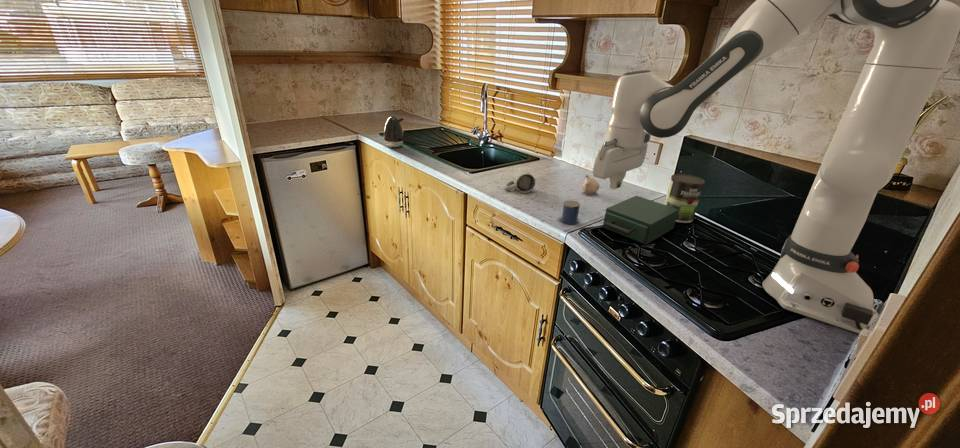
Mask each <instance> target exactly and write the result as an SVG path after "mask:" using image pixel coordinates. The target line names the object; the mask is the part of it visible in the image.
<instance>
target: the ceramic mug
mask: <svg viewBox="0 0 960 448" xmlns="http://www.w3.org/2000/svg"><path fill="white" fill-rule="evenodd" d="M535 186H536V178H535V176H534V175H533V174H532V173H530V172H529V171H527V170H525V169H519V170H516V171H515V172H514V174H513V176H512V180H511V181H508V182H507V183H506V184H505V189H506V191H514V190H517V191H518V192H520V193H522V194H527V193H530V192H531V191H533V190H534V188H535Z"/></svg>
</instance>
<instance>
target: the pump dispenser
mask: <svg viewBox="0 0 960 448" xmlns="http://www.w3.org/2000/svg"><path fill="white" fill-rule="evenodd" d="M404 120H405V119H404V117H402V118H398V117H397V116H394V115H393V116H389V117H388V118H387V120H386V122H385V125H384V130H383V141H384V143H385V145H386V146H387V147H389V148H394V149H395V148H399V147H401V146H402V145H403V143H404V141H405V136H404V130H403V126H402V124H401V122H403V121H404Z"/></svg>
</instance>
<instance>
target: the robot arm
mask: <svg viewBox="0 0 960 448" xmlns="http://www.w3.org/2000/svg"><path fill="white" fill-rule="evenodd" d="M827 16H828V17H830V18H833V19H834V20H837V21H838V22H840V23H843V24H847V25H851V26H868V25H871V27H872V29H873V31H874V40H873V42H872V43H873V44H872V45H873V46H872V48H871V50H870V52H869V54H868V56H867V57H866V60H865V63H864V65H863V67H862V69H861V71H860V74H859V76H858V78H857V81H856V83H855V86H854V88H853V90H852V93H851V95H850V97H849V99H848V101H847V104H846V105H845V109H844V111H843V113H842V116H841V119H840V120H839V123H838V124H837V127H836V130H835V132H834V134H833V136H832V139H831V141H830V143H829V145H828V148H827V150H826V152H825V154H824V157H823V159H822V162H821V164H820V166H819V169H818V171H817V173H816V176H815V178H814V181H813V183H812V185H811V188H810V189H809V192H808V195H807V197H806V200H805V202H804V204H803V206H802V208H801V211H800V214H799V216H798V219H797V220H796V223H795V225H794V228H793V230H792V232H791V234H789V236H787V238H786V239H785V242H784V244H783V246H782V248H781V251H780V257H779V259H778V261H777V263H776V264H775V266H774V268H773V269H772V270H771V272H770V273H769V275H767V276H766V278H765V279H764V280H763V281H762V288H763V289H764V291H765V292H766V293H767V294H768V295H769V296H770V297H772V298H773V299H774V300H775V301H776V302H777V303H778V304H779V306H780V307H782V309H784V310H786V311H790V312H792V313H796V314H799V315H802V316H805V317H808V318H811V319H814V320H817V321H820V322H823V323H826V324H829V325H832V326H835V327H838V328H841V329H844V330H847V331H850V332H853V333H856V334H859V335H861V334H860V332H861V331H862V330H863V329H864V328H870V326H871V325H872V323H873V322H874V321H875V319H876V318H877V317H878V315H879V316H880V314H879V312H878V311H877V310H876V309H875V308H874V301H875V297H874V292H873V290H872V288H871V287H870V286H869V285H868V284H867V283H866V282H865V281H864V280H863V278H862V277H860V275H859V274H858V273H857V272H858V271H859V268H860V264H859V263H860V259H859V254H856V255H855V254H854V253H853V252H852V250H853V247H854V245H855V243H856V241H857V239H858V238H859V235H860V234H861V231H862V229H863V228H864V225H865V223H866V221H867V218H868V216H869V213H870V211H871V208H872V206H873V204H874V201H875V198H876V196H877V195H878V192H879V191H880V190H881V189H883V188H884V187H885V186H886V185H888V183H890V181H891V180H892V178H893V176H894V174H895V172H896V170H897V168H898V166H899V163H900V162H901V159H902V157H903V155H904V153H905V150H906V148H907V146H908V144H909V142H910V140H911V137H912V135H913V133H914V130H915V128H916V125H917V123H918V121H919V118H920V116H921V115H922V112H923V110H924V108H925V106H926V104H927V102H928V100H929V98H930V97H931V94H932V93H933V90H934V89H935V87H936V85H937V83H938V81H939V79H940V77H941V75H942V73H943V70H944V69H945V68H946V65H947V63H948V61H949V59H950V56H951V54H952V52H953V50H954V47H955V44H956V41H957V38H958V35H959V32H960V6H959V5H958V4H956V3H954V2H952V1H949V0H755V1H754V2H753V3H752V4H751V5H750V6H749V7H748V8H747V9H746V10H745V11H744V12H743V13H742V14H741V15H740V16H739V17H738V18H737V20H735V22H734V23H733V25H732V26H731V28H729V30H728V32H727V34H726V36H725V37H724V39H723V40H722V42H721V43H720V44H719V46H718V47H717V48H716V49H715V50H714V51H713V53H712V54H710V56H709V57H708V58H706V59H705V60H704V61H703V62H702V63H700V65H699V66H698V67H696V68H695V69H694V70H692V71H691V72H690V73H689V74H688V75H687V76H686V77H684V78H683V79H682V80H681V81H680V82H678V83H677V84H675V85H672V84H670V83H668V82H666V81H664V80H663V79H661V78H659V77H658V76H657V75H656V74H655V73H654V72H653V71H652V70H650V69H644V70H641V69H640V70H633V71H628V72H625V73H623V74H622V75H620V76H619V77H618V79H617V81H616V84H615V86H614V92H613V96H612V99H611V100H612V101H611V107H610V108H611V116H610V119H609V122H608V124H607V125H608V126H607V130H606V138H605V141H604V142H603V144H602V146H600V147H599V148H598V150H597V152H596V155H595V158H594V163H593V167H592V175H593V177H594V178H597V179H601V180H607V179H608V180H609V182H610V183H609V188H610V189H611V190H617V189H619V188H621V187H622V184H623V181H624V179H625V177H626V175H627V172H630V171H633V170H634V169H637V168H642V166H643V164H644V162H645V158H646V154H647V150H648V143H650V142H651V139H652V137H655V138H660V139H666V138H671V137H673V136H675V135H677V134H679V133H680V132H681V131H683V129H685V127H686V126H687V124H688V123H689V121H690V119H691V117H692V115H693V114H694V112H695V111H696V109H697V108H698V107H699V106H700V105H701V104H702V103H703V102H705V101H706V100H707V99H708V98H710V97H711V96H712V95H713V94H714V93H716V92H717V91H718V90H720V88H722V87H723V86H724V85H726V83H728V82H729V81H730V80H731V79H733V78H734V77H735V76H737V75H738V74H740V73H742V72H743V71H744V70H746V69H748V68H750V67H752V66H753V65H756V64H757V63H759V62H761V61H763V60H765V59H766V58H768V57H770V56H771V55H773V54H775V53H776V52H778V51H780V50H781V49H783V48H784V47H786V46H787V45H788V44H789V43H791V42H793V40H795V39H797V37H798V36H800V35H801V34H803V32H805V31H806V30H807V29H808V28H810V27H811V26H813V25H814V24H815V23H817V22H818V21H820V20H821V19H823V18H826V17H827Z"/></svg>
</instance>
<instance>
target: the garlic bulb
mask: <svg viewBox="0 0 960 448" xmlns="http://www.w3.org/2000/svg"><path fill="white" fill-rule="evenodd" d="M581 187H582V188H581V189H582V190H583V192H584V193H585V194H587V195H591V194H592V195H593V194H595V193H596V192H598V191H599V189H600V182H598V180H596V179H595V178H593V177H590V176H589V175H585V180H584V182H583V184H582V186H581Z"/></svg>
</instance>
